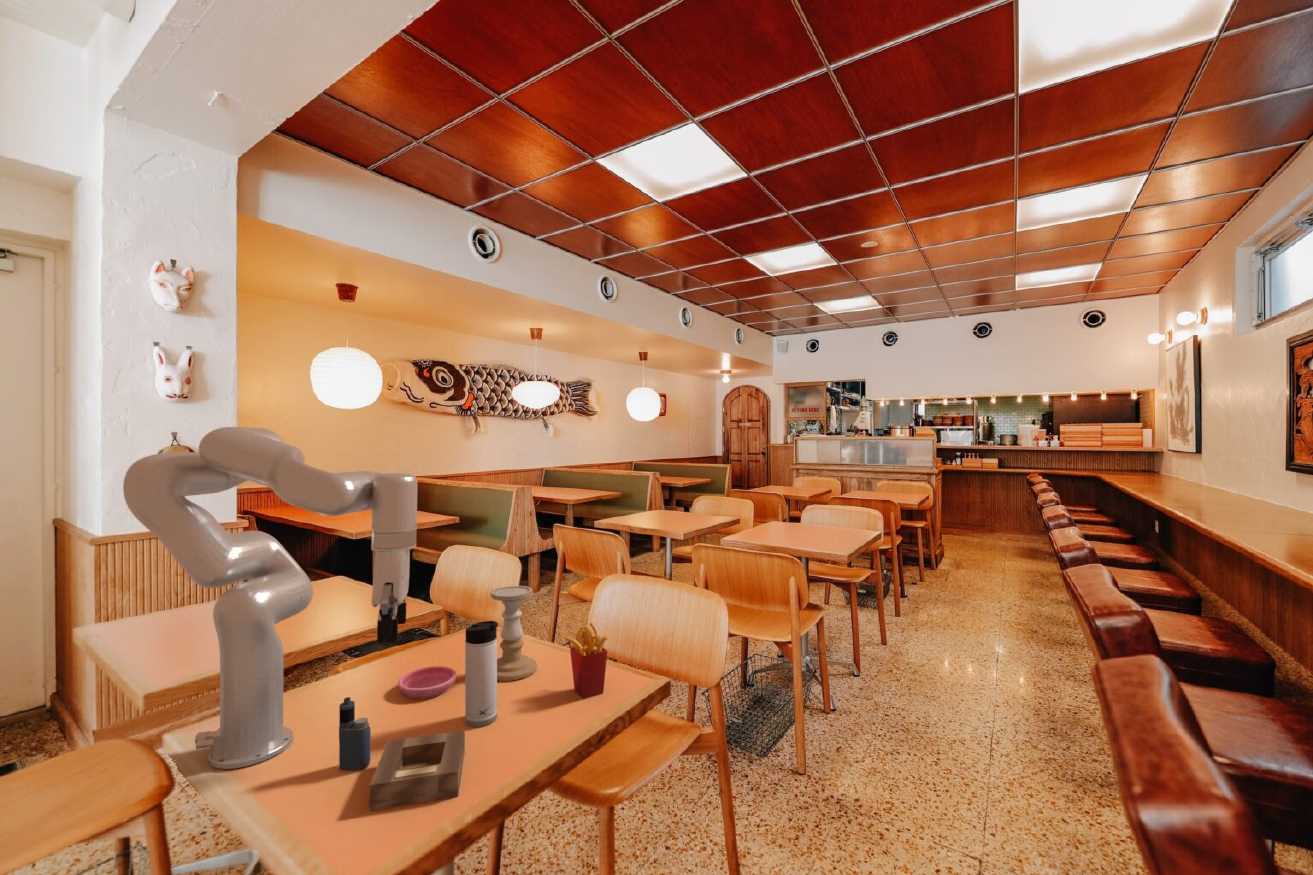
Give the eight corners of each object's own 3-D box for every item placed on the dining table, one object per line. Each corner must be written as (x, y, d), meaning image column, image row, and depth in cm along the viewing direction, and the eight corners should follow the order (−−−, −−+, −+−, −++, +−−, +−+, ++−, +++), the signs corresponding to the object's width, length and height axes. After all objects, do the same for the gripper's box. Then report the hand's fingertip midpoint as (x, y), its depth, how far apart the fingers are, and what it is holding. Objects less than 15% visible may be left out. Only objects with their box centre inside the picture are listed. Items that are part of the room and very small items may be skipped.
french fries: (609, 693, 123) (608, 627, 123) (576, 703, 118) (575, 635, 118) (590, 679, 130) (590, 617, 130) (559, 688, 125) (559, 624, 125)
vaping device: (344, 762, 97) (344, 695, 97) (373, 762, 96) (373, 695, 97) (335, 770, 94) (335, 701, 94) (365, 771, 94) (365, 702, 94)
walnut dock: (369, 810, 84) (369, 783, 84) (387, 763, 96) (388, 739, 96) (458, 796, 87) (458, 770, 87) (464, 751, 100) (464, 729, 100)
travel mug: (489, 728, 108) (488, 628, 108) (459, 725, 109) (459, 626, 109) (504, 713, 114) (503, 618, 114) (475, 710, 115) (475, 617, 115)
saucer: (462, 693, 124) (462, 679, 124) (403, 708, 117) (403, 693, 117) (449, 674, 134) (449, 661, 134) (394, 687, 127) (394, 673, 127)
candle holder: (522, 657, 144) (521, 581, 144) (546, 671, 135) (546, 591, 135) (477, 670, 135) (477, 590, 136) (500, 686, 126) (500, 600, 127)
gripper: (381, 533, 107) (379, 619, 107) (360, 549, 90) (358, 652, 90) (422, 531, 109) (420, 616, 109) (409, 548, 93) (407, 647, 92)
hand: (392, 632), depth 100 cm, fingers open, 9 cm apart
